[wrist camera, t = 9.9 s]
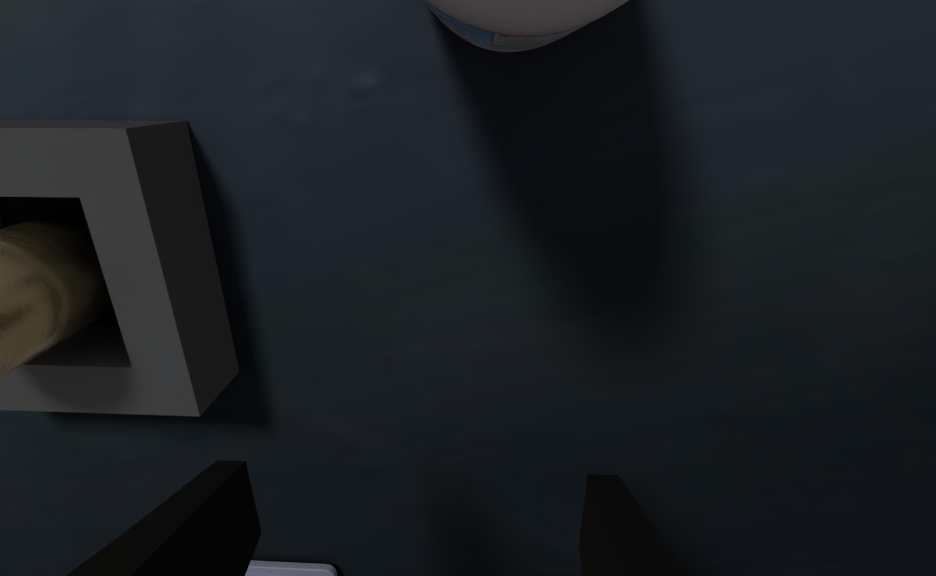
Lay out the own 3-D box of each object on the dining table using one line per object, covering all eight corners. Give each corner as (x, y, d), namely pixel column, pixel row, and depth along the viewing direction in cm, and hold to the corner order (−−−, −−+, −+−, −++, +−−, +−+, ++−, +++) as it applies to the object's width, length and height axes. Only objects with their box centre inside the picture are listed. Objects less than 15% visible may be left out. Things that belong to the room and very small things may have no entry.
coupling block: (239, 371, 21) (199, 416, 18) (12, 365, 21) (-61, 407, 18) (186, 120, 17) (125, 128, 14) (-91, 119, 17) (-203, 127, 14)
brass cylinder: (150, 311, 20) (17, 400, 14) (52, 301, 20) (-118, 386, 14) (133, 214, 18) (-24, 272, 13) (27, 203, 18) (-176, 257, 13)
